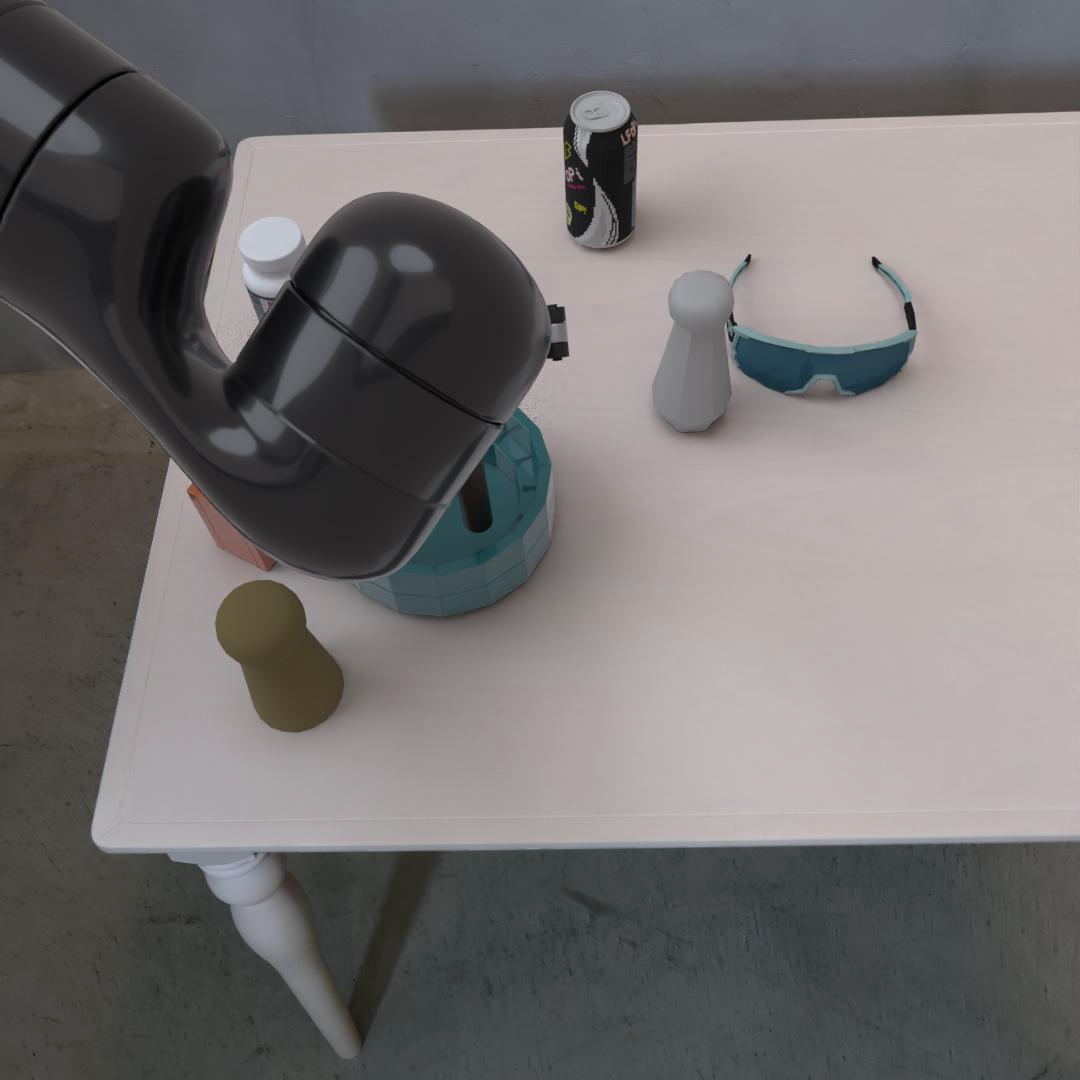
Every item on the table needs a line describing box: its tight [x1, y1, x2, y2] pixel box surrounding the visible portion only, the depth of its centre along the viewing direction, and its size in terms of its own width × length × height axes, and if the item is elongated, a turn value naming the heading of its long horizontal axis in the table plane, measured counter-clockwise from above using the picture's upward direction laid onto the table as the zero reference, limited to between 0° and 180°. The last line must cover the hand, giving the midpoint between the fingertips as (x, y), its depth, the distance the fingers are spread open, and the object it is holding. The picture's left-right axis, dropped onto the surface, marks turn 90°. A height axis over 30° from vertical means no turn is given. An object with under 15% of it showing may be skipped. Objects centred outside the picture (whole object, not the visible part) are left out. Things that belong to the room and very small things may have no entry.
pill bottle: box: [238, 215, 308, 323], centre depth 86 cm, size 6×6×10 cm
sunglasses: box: [726, 253, 919, 397], centre depth 87 cm, size 14×15×5 cm
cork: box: [214, 579, 345, 733], centre depth 69 cm, size 6×6×11 cm
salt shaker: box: [651, 269, 735, 434], centre depth 79 cm, size 6×6×13 cm
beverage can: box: [562, 90, 639, 249], centre depth 90 cm, size 6×6×12 cm
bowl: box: [352, 407, 556, 617], centre depth 77 cm, size 16×16×6 cm
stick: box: [458, 458, 493, 533], centre depth 68 cm, size 2×2×20 cm
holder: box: [185, 482, 277, 572], centre depth 77 cm, size 5×5×7 cm
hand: (446, 336), depth 64 cm, fingers closed on stick, 2 cm apart
